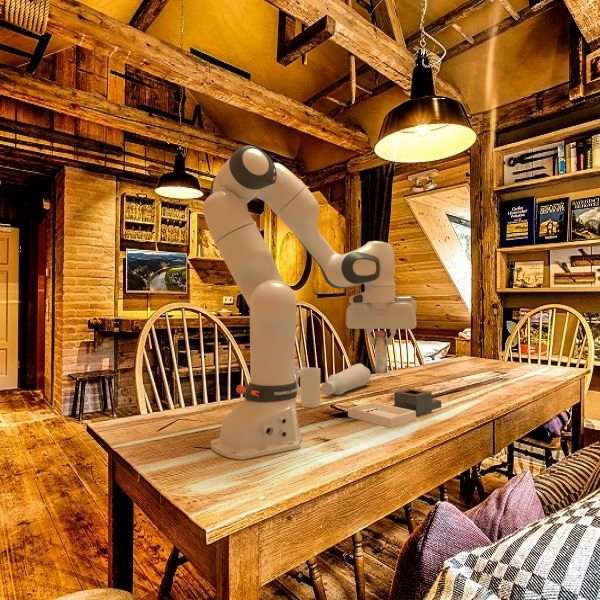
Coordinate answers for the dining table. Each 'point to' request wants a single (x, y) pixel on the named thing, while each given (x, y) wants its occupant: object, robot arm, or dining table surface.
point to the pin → (380, 352)
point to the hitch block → (416, 401)
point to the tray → (382, 414)
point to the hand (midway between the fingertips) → (380, 344)
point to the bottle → (346, 380)
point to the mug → (309, 387)
